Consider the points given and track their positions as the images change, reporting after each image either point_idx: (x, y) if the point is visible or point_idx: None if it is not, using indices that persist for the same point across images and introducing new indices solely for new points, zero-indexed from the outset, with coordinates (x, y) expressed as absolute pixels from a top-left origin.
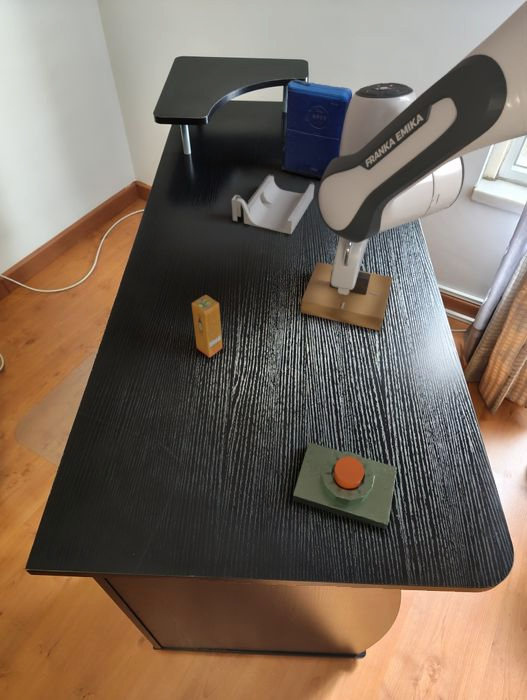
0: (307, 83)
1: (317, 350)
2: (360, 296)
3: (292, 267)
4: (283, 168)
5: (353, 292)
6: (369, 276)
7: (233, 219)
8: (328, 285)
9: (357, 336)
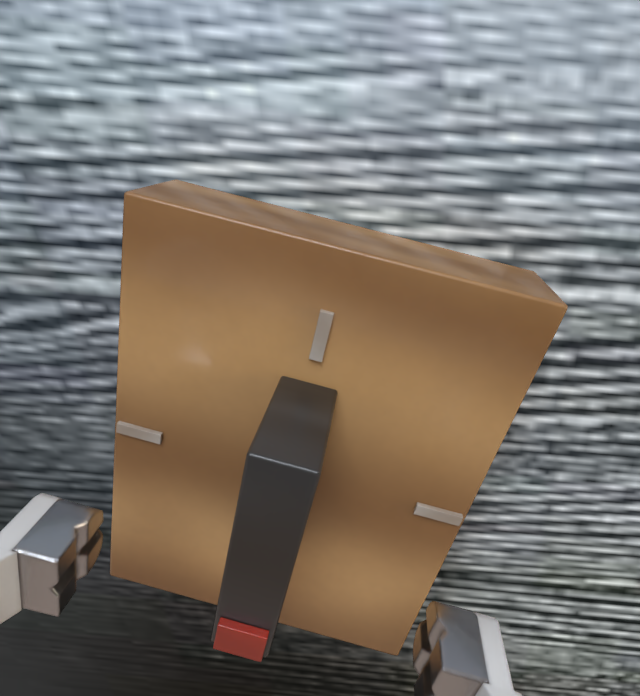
0: None
1: (633, 552)
2: (351, 417)
3: (129, 584)
4: None
5: None
6: (282, 467)
7: None
8: None
9: (564, 389)
